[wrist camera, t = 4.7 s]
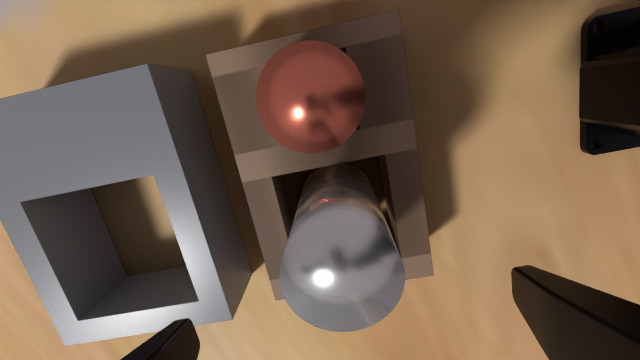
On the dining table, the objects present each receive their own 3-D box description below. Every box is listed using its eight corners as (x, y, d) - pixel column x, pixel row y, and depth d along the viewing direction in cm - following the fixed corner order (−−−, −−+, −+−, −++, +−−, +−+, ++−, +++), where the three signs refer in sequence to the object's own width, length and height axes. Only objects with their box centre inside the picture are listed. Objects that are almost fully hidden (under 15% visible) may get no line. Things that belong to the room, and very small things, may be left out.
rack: (190, 69, 16) (146, 63, 12) (252, 274, 19) (232, 319, 16) (32, 106, 17) (-55, 111, 13) (115, 296, 20) (65, 345, 16)
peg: (367, 156, 17) (395, 210, 10) (378, 223, 18) (412, 322, 11) (294, 170, 18) (265, 234, 10) (310, 235, 19) (295, 339, 11)
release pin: (348, 44, 15) (355, 28, 11) (363, 129, 16) (373, 142, 12) (266, 63, 15) (243, 54, 11) (285, 144, 16) (270, 162, 12)
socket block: (386, 24, 15) (399, 9, 12) (417, 246, 18) (433, 275, 16) (228, 60, 16) (205, 55, 13) (284, 268, 19) (275, 300, 16)
